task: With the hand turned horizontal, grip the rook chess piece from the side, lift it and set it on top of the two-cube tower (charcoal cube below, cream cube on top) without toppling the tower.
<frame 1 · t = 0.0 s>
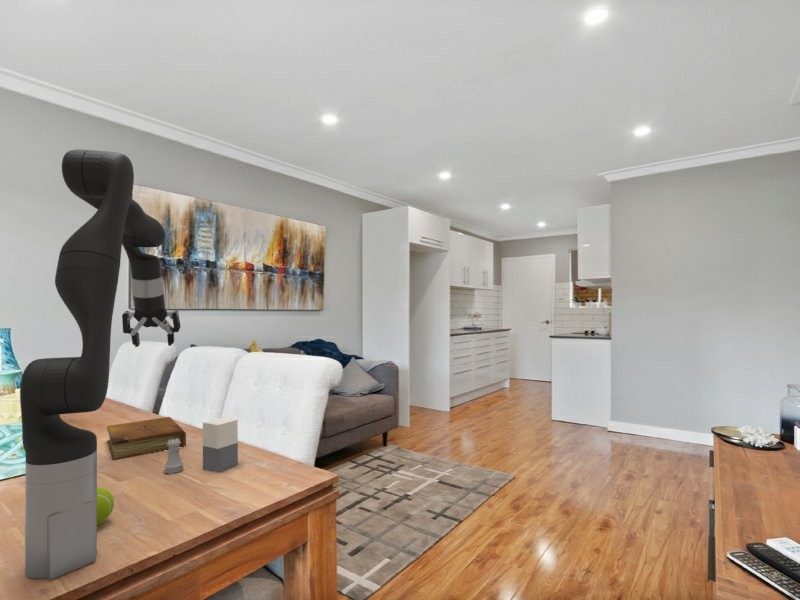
hand: (154, 345, 125), 31 cm above the table, tool tilted 20°, fingers open, 8 cm apart
diary: (145, 446, 134), on the table
tower top: (220, 444, 113), point 6 cm above the table, touching tower base
rook chess piece: (173, 471, 111), on the table
tower base: (220, 467, 113), on the table, touching tower top
tennis ball: (92, 526, 82), on the table
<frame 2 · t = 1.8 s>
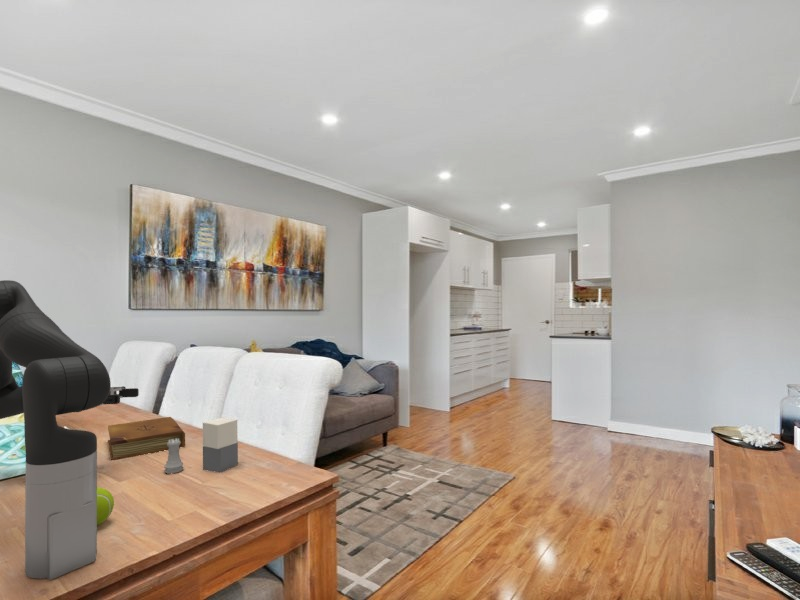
hand: (129, 395, 110), 20 cm above the table, tool horizontal, fingers open, 8 cm apart
nothing on the table moved.
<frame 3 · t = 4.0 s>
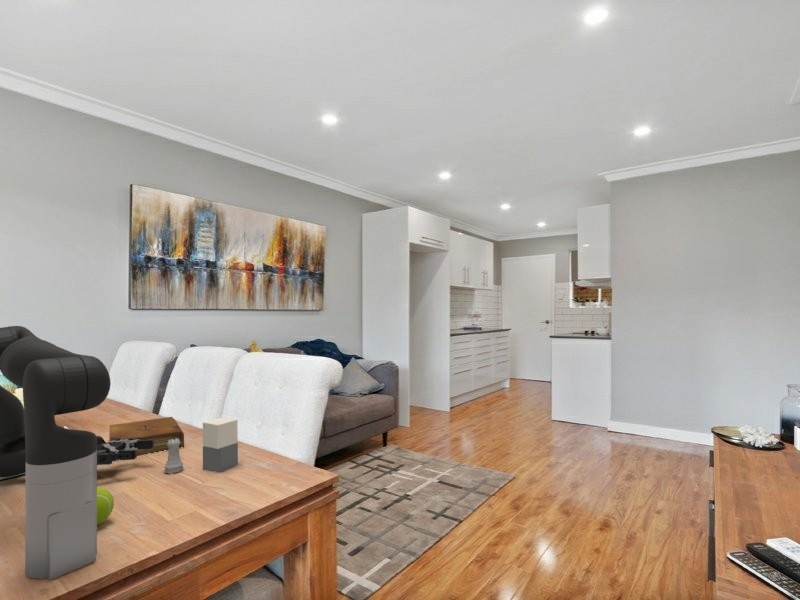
hand: (145, 449, 110), 6 cm above the table, tool horizontal, fingers open, 8 cm apart
nothing on the table moved.
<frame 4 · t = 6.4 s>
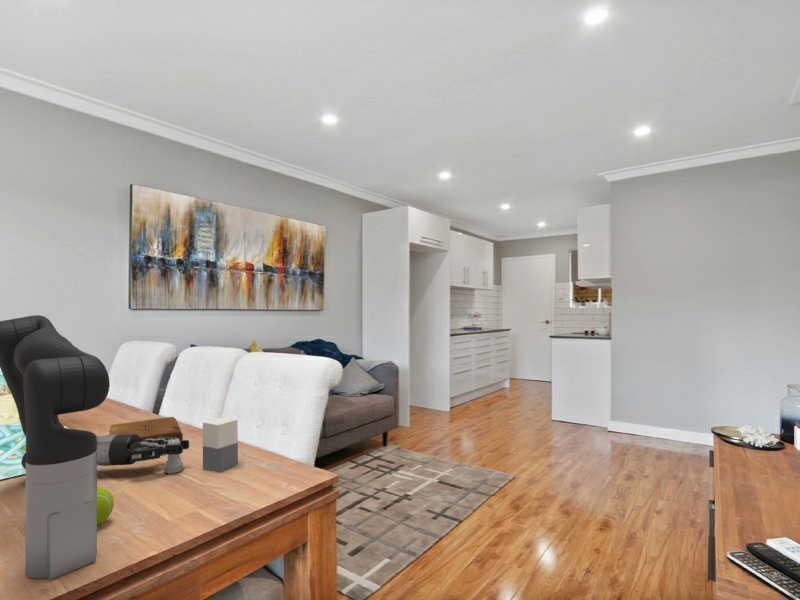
hand: (185, 446, 111), 6 cm above the table, tool horizontal, fingers closed on rook chess piece, 3 cm apart
rook chess piece: (173, 471, 111), on the table, touching gripper
everything else where it was.
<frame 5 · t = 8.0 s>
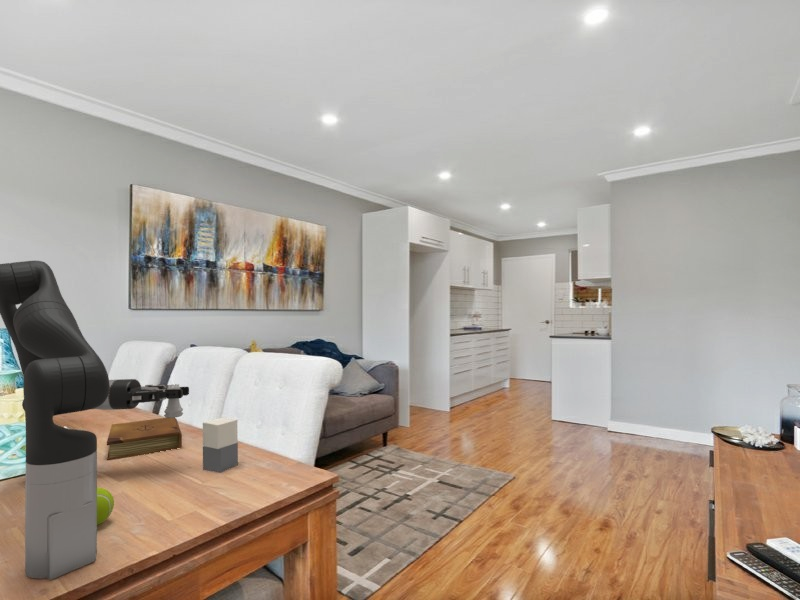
hand: (185, 392, 111), 20 cm above the table, tool horizontal, fingers closed on rook chess piece, 3 cm apart
rook chess piece: (173, 417, 111), point 14 cm above the table, touching gripper
everything else where it was.
when the fingers open (19 cm above the table, at t = 9.6 s): rook chess piece stays where it is, resting on tower top.
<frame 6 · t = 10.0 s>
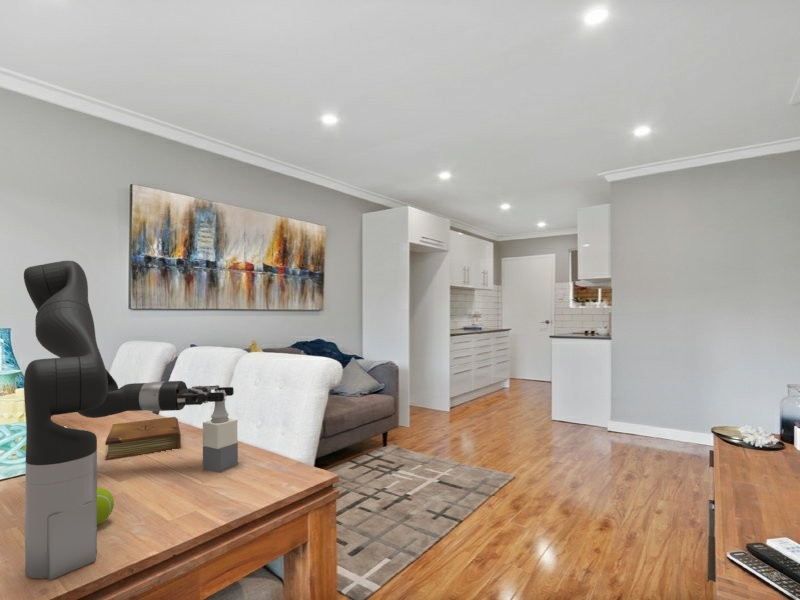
hand: (228, 393, 114), 19 cm above the table, tool horizontal, fingers open, 7 cm apart
tower top: (220, 444, 113), point 6 cm above the table, touching rook chess piece, tower base
rook chess piece: (219, 422, 113), point 12 cm above the table, touching tower top
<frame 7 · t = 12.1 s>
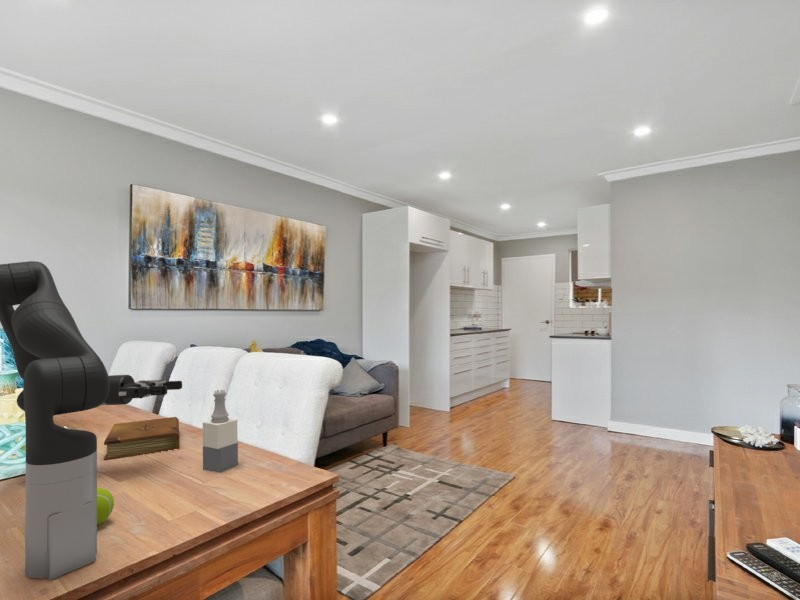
hand: (174, 387, 112), 21 cm above the table, tool horizontal, fingers open, 8 cm apart
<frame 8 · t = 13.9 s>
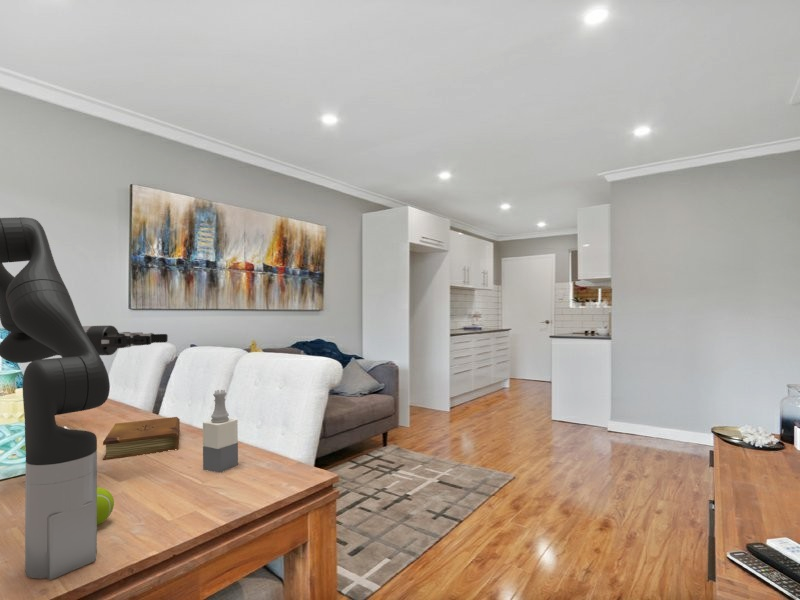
hand: (159, 339, 110), 34 cm above the table, tool horizontal, fingers open, 8 cm apart
at the end: rook chess piece 0.1 cm off-centre on the tower top, point 5.8 cm above the tower top's base; rook chess piece tilted 0°; tower top tilted 0° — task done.
